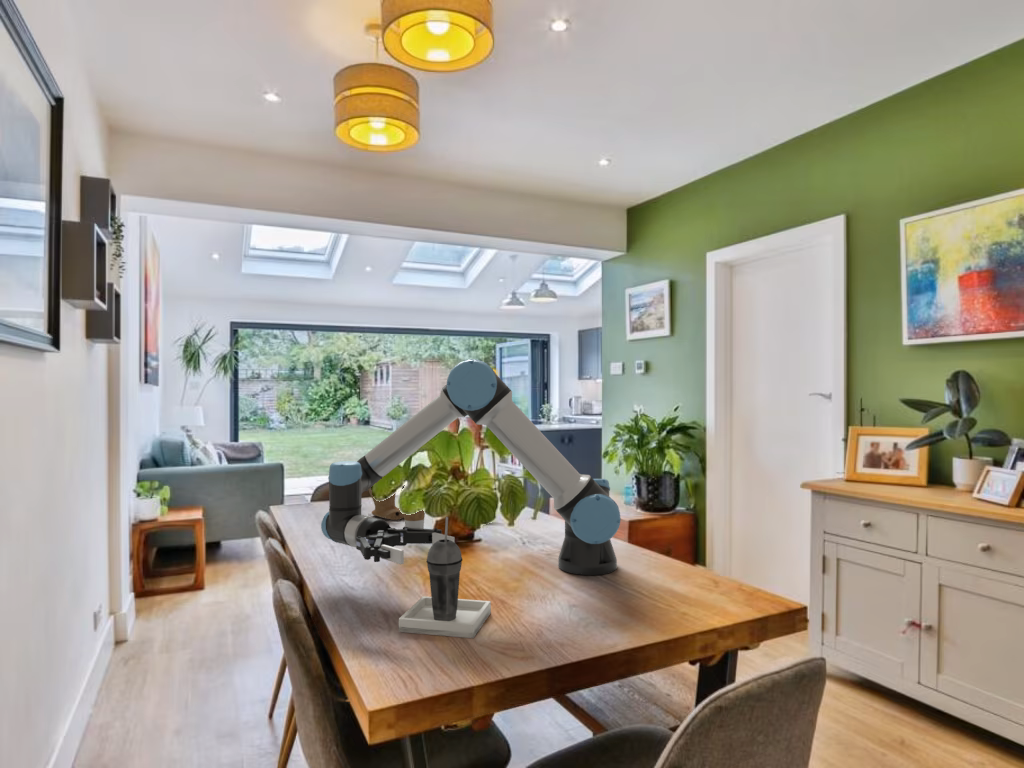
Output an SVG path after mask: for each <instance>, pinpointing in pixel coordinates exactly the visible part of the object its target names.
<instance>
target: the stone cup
mask: <svg viewBox="0 0 1024 768" xmlns="http://www.w3.org/2000/svg"><path fill="white" fill-rule="evenodd" d="M368 492H369V495H370V497H371V499H372V501H373V504H374V509H373V510H372V511H371V514H372V516H376V517H378V518H383V519H385V520H392V521H399V520H403V519H404V514H402V513H401V512H400V510H399V509H400V508H399V507H398V506H396V493H395V494H394V495H393V496H391V497H390V498H388V499H386V500H384V501H380V502H379V501H376V500H375V499H374V498H373V495H372V490H371V488H370V489H369V490H368Z"/></svg>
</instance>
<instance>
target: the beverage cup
mask: <svg viewBox="0 0 1024 768" xmlns="http://www.w3.org/2000/svg"><path fill="white" fill-rule="evenodd" d="M448 525H449V516H446V517H445V527H444V528H445V529H444V535H445V539H443V540H439V541H437V542H435V543H434V544H433V545H432V544H431V546H430V548H429V549H428V552H427V557H426V562H425V563H426V564H427V570H428V574H429V576H428V577H429V583H430V585H429V586H430V594H431V596H430V597H431V598H432V609H433V615H434V620H438V621H452V620H454V619H455V618H456V612H457V604H458V599H459V590H460V589H459V587H460V575H461V574H460V572H461V570H462V566H463V565H462V563H463V556H462V552H461V549H460V547H459V546H458V545H457V544H456V542H455V543H454V542H453V541H451V540H447V535H448V533H449V532H448V528H449V527H448Z"/></svg>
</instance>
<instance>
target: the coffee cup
mask: <svg viewBox="0 0 1024 768" xmlns="http://www.w3.org/2000/svg"><path fill="white" fill-rule="evenodd" d="M405 485H406V484H405ZM405 485H402V487H401V490H402V489H403V488H404V486H405ZM425 514H426V512H425V513H424V511H423V510H422V511H419V512H417V513H415V514H411V515H406V514H404V518H403V519H404V527H409V528H420V529H425V528H424V527H425V516H426V515H425Z"/></svg>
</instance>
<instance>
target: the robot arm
mask: <svg viewBox="0 0 1024 768" xmlns="http://www.w3.org/2000/svg"><path fill="white" fill-rule="evenodd" d="M467 416H468V417H469V418H470V419H471V420H472V421H473V422H474V424H476V425H480V426H481V425H483V426H486V427H487V429H489V430H490V431H491V433H493V435H494V436H496V438H497V439H498V440H499V441H500V442H501V443H502V444H503V445H504V447H505V448H506V449H507V450H508V451H509V452H511V454H512V455H513V456H514V457H515V458H516V459H517V461H518V462H519V463H520V464H521V465H522V466H523V467H524V468H525V469H526V470H527V471H528V472H529V473H530V475H531V476H532V477H533V478H534V479H535V480H536V481H537V482H538V483H539V484H540V486H541V487H542V488H543V489H544V490H545V491H546V492H547V494H549V495H550V496H551V497H552V499H553V510H555V511H556V512H557V513H558V515H560V516H561V518H562V519H563V520H564V539H563V542H562V544H561V548H560V551H559V554H558V561H557V562H558V568H559V569H560V570H562V571H564V572H566V573H569V574H570V573H571V574H574V575H580V576H581V575H583V576H599V575H606V574H611V573H612V572H614V571H616V570H617V568H618V564H617V563H618V562H617V561H618V559H617V556H616V553H615V550H614V547H613V544H612V540H611V539H612V538H614V536H615V535H616V534H617V532H618V530H619V528H620V525H621V520H622V519H621V512H620V509H619V505H618V504H617V503H616V501H615V500H614V499H613V498H611V496H610V491H611V487H610V481H609V480H608V479H606V478H593V477H592V476H591V475H590V474H581V473H579V472H578V470H577V469H576V468H575V467H574V466H573V465H572V464H571V463H570V462H569V460H568V459H567V458H566V457H565V456H564V455H563V454H562V453H561V452H560V451H559V450H558V449H557V448H556V446H554V444H553V443H552V442H551V441H550V440H549V439H548V438H547V437H546V436H545V435H544V434H543V433H542V431H540V429H539V428H538V427H537V426H536V425H535V423H533V422H532V420H531V419H529V417H528V416H527V415H526V414H525V413H524V412H523V411H522V410H521V408H519V406H517V404H516V403H515V402H514V401H513V391H512V390H511V389H510V387H509V386H508V385H507V384H506V383H505V382H504V380H502V379H501V377H499V375H498V374H497V373H496V372H495V371H494V370H493V368H492V367H491V366H490V365H489V364H488V363H486V362H485V361H483V360H480V359H475V358H468V359H465V360H463V361H460V362H458V363H457V364H455V366H454V367H453V368H452V369H451V370H450V372H449V374H448V377H447V380H446V385H444V386H443V387H441V388H440V393H439V395H438V396H437V397H435V398H434V399H433V400H432V401H430V402H429V403H428V404H427V405H425V406H424V407H422V409H421V410H419V411H418V412H417V413H415V414H414V415H413V416H411V417H410V418H409V419H408V420H407V421H406V422H404V423H403V424H401V426H399V427H398V428H396V430H395V431H393V432H392V433H390V434H389V435H388V436H387V437H385V438H384V439H383V440H381V442H379V443H378V444H377V445H376V446H375V447H373V448H372V449H371V450H369V451H368V452H367V453H365V455H364V456H362V457H360V459H358V460H357V461H356V460H355V461H354V460H352V461H351V460H345V461H341V460H340V461H335V462H332V463H331V464H330V466H329V471H328V476H327V477H328V478H327V479H328V497H329V501H328V503H329V504H328V505H329V507H328V512H326V513H325V514H324V516H323V518H322V520H321V523H320V529H321V532H322V533H323V535H324V537H326V538H327V539H328V540H331V541H332V542H334V543H338V544H343V545H346V546H350V547H352V548H355V549H356V550H358V551H360V553H361V554H362V556H363V558H364V560H365V561H369V560H371V559H372V558H371V557H373V562H374V563H379V562H380V561H381V559H383V560H386V561H387V562H388V561H389V562H392V563H395V564H398V565H404V564H405V561H404V559H405V558H404V556H405V555H404V553H405V552H404V550H405V549H401V548H398V547H402V546H403V547H405V546H407V545H408V544H411V545H412V544H415V545H419V544H427V545H428V544H429V545H430V544H431V546H432V545H433V544H434V543H435V542H437V541H439V540H443V539H445V534H443V532H442V531H443V530H442V529H438V528H434V529H433V528H424V529H420V528H409V527H405V526H403V527H402V529H401V528H400V529H399V528H395V527H391V525H390V524H389V523H388V522H387V521H386V520H384V519H381V518H376V517H373V516H369V515H364V514H362V505H363V504H362V494H363V493H365V492H366V491H369V489H370V488H371V487H372V486H373V485H374V484H375V483H377V482H378V481H379V480H380V479H382V477H384V476H387V475H388V474H389V473H390V472H391V471H392V470H394V469H395V468H397V467H398V466H399V465H400V464H401V463H402V462H404V461H405V460H406V459H408V458H409V457H411V455H413V454H414V453H415V452H416V451H418V450H419V449H421V447H423V446H424V445H425V444H426V443H428V442H430V440H432V439H433V438H434V437H435V436H436V435H438V434H439V433H441V432H442V431H443V430H444V429H446V428H447V427H448V426H450V424H452V423H453V422H454V421H455V420H457V419H458V418H463V419H464V418H465V417H467ZM447 540H451V541H453V542H454V543H455V544H456V542H455V540H456V539H455V536H451V535H448V534H447Z"/></svg>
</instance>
